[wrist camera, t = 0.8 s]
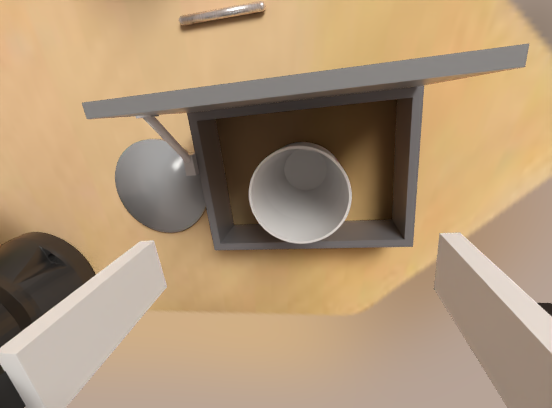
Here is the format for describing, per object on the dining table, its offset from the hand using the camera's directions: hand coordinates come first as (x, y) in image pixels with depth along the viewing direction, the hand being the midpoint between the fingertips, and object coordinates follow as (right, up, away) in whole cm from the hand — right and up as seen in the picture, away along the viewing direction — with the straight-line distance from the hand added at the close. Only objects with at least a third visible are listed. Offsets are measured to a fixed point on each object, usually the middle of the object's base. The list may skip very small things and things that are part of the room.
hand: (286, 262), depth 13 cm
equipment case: (+3, +7, +18) cm, 19 cm away
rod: (-6, +21, +14) cm, 26 cm away
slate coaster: (-15, +5, +22) cm, 27 cm away
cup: (+3, +7, +18) cm, 20 cm away
